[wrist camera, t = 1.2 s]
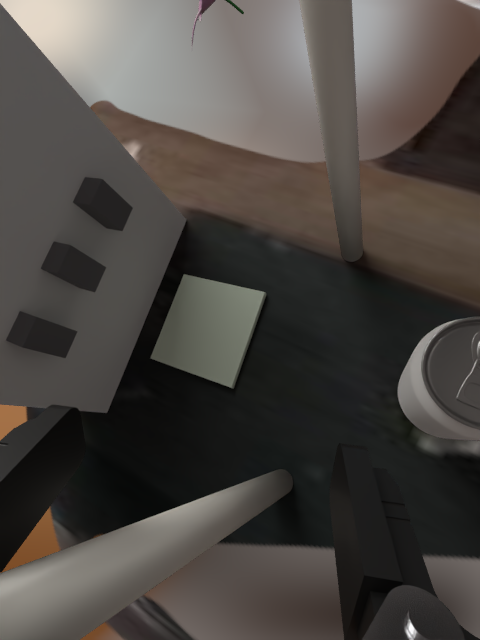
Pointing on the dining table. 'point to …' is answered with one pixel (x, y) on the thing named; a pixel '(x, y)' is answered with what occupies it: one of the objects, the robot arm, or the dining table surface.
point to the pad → (209, 329)
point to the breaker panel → (70, 239)
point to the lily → (204, 4)
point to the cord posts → (229, 504)
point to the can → (445, 382)
